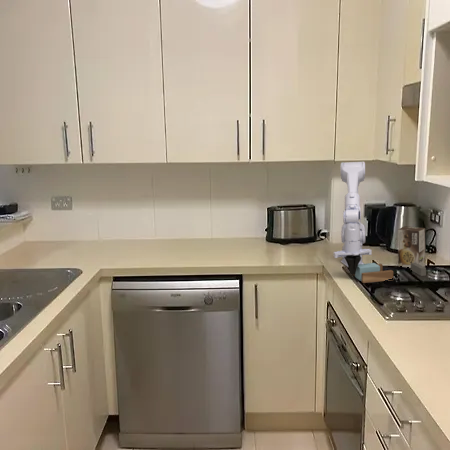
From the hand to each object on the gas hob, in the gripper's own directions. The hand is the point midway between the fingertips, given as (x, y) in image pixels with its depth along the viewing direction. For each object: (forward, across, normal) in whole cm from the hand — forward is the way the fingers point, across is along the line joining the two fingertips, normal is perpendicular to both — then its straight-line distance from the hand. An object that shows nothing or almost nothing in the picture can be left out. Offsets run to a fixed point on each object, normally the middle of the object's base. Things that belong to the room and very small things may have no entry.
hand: (352, 273), depth 185 cm
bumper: (+2, +27, 0) cm, 27 cm away
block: (+2, +6, 0) cm, 6 cm away
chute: (+2, +8, 0) cm, 8 cm away
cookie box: (+2, +29, +9) cm, 30 cm away
